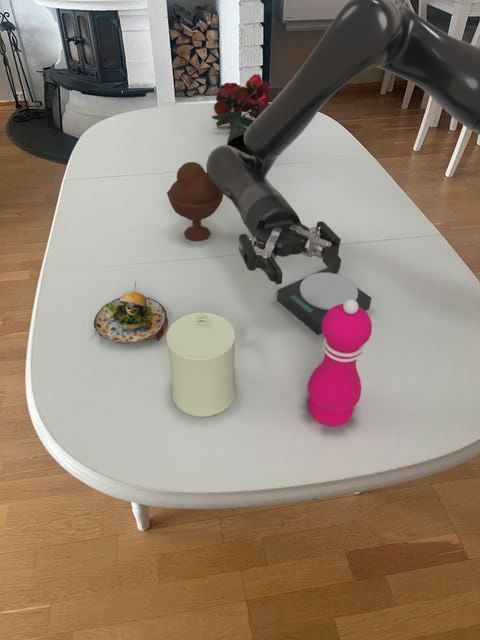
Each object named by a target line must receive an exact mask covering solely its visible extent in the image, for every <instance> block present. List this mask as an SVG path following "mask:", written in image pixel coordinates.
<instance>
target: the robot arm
mask: <svg viewBox="0 0 480 640" xmlns="http://www.w3.org/2000/svg"><path fill="white" fill-rule="evenodd" d="M373 68H378V69H381V70H383V71H385V72H388V73H391V74H393V75H395V76H398V77H400V78H401V79H404V80H406V81H408V82H410V83H412V84H414V85H416V86H417V87H418V88H420V89H421V90H423V91H424V92H425V93H427V94H428V96H430V97H431V98H432V99H433V100H434V101H435V103H437V105H439V106H440V107H441V108H442V109H443V110H444V111H445V112H446V113H447V114H449V116H451V117H452V118H453V119H454V120H455V121H457V122H458V123H460V124H461V125H462V126H463V127H465V128H467V129H468V130H470V131H472V132H474V133H475V134H477V135H479V136H480V47H479V46H476V45H474V44H472V43H468V42H465V41H464V40H461V39H458V38H456V37H453V36H451V35H449V34H448V33H445V32H444V31H443V30H441V29H439V28H438V27H436V26H434V25H433V24H432V23H430V22H429V21H428V20H426V19H424V18H422V17H421V16H420V15H418V14H417V13H416V12H415V11H413V10H412V9H410V8H409V7H407V6H406V5H405V4H403V3H402V2H401V1H399V0H349V1H347V2H346V3H345V4H344V5H342V7H341V8H340V10H339V12H338V13H337V14H336V16H335V17H334V18H333V20H332V21H331V23H330V25H329V26H328V27H327V29H326V31H325V33H323V36H322V37H321V39H320V40H319V42H318V43H317V45H316V46H315V47H314V50H313V51H312V52H311V53H310V55H309V56H308V58H307V59H306V60H305V62H304V63H303V65H302V66H301V67H300V68H299V70H298V71H297V72H296V74H295V75H294V76H293V77H292V79H291V80H290V81H289V82H288V83H287V85H285V87H283V89H282V90H281V91H280V92H279V93H278V94H277V96H275V98H273V100H272V101H271V102H269V103H270V104H269V105H268V106H267V107H266V108H265V110H264V111H263V112H262V113H261V114H260V115H259V116H258V117H257V118H256V119H254V120H253V121H254V122H253V123H252V124H251V125H250V126H249V127H247V128H246V129H247V130H246V132H245V134H244V142H245V145H246V147H247V149H248V150H249V151H250V153H251V154H252V155H253V156H249V155H247V154H245V153H244V152H242V151H240V150H238V149H236V148H234V147H232V146H229V145H227V144H223V145H219V146H217V147H215V148H214V149H213V150H212V151H211V152H210V153H209V155H208V158H207V161H206V172H207V174H208V177H209V179H210V181H211V182H212V183H213V185H214V186H215V187H216V188H217V189H219V190H220V191H221V192H222V193H223V196H225V197H226V198H227V199H229V200H230V201H231V202H232V204H233V206H234V207H235V209H236V210H237V212H238V213H239V215H240V218H241V220H242V223H243V225H244V226H245V227H246V229H247V230H248V232H249V233H250V235H251V237H249V236H248V234H246V233H241V234H239V235H238V252H239V253H240V256H241V258H242V260H243V262H244V264H245V266H246V269H247V270H248V271H251V272H253V271H256V269H260V270H261V271H263V272H264V273H265V276H266V277H267V279H268V280H269V281H270V282H272V283H273V282H274V284H275V285H276V286H277V285H281V284H283V270H282V269H281V267H280V265H279V263H278V262H277V261H276V259H277V257H280V258H284V257H289V256H293V255H294V256H295V255H303V256H306V257H308V258H312V257H316V258H318V259H321V260H322V263H323V264H324V265H325V266H326V268H328V269H329V270H330V271H331V272H332V274H335V273H337V274H338V273H339V271H340V269H341V264H342V258H341V257H340V256H339V254H340V245H341V241H342V240H341V238H340V236H339V235H337V234H336V232H335V231H333V229H331V228H330V226H329V225H328V224H326V222H324V221H321V220H319V221H317V222H316V226H313V227H308V226H306V225H305V224H302V222H301V219H300V217H299V215H298V214H297V212H296V211H295V210H294V208H293V207H292V206H291V205H290V203H289V202H288V201H287V200H286V198H285V197H284V196H283V195H282V193H281V192H280V191H279V190H278V189H276V187H274V186H273V185H272V183H271V182H270V181H269V180H268V178H267V175H268V174H269V172H270V170H271V169H272V167H273V165H274V164H275V162H276V160H277V159H278V157H279V156H281V154H282V153H284V152H285V151H286V150H287V148H289V147H290V146H291V145H292V144H293V143H294V142H295V141H296V140H297V139H298V138H299V137H300V136H301V135H302V134H303V132H304V131H305V130H306V129H307V127H308V126H309V125H310V123H311V122H312V121H313V120H314V118H315V116H316V115H317V114H318V112H319V111H320V110H321V109H322V108H323V106H324V105H325V104H326V103H327V102H328V101H329V100H330V98H332V97H333V96H334V95H335V94H336V93H337V92H338V91H340V89H341V88H343V87H344V86H345V85H347V84H348V83H350V82H351V81H353V79H355V78H356V77H358V76H359V75H360V74H362V73H363V72H365V71H367V70H371V69H373ZM308 242H309V245H308V247H307V244H308ZM255 247H257V248H258V249H259V250H262V253H261V254H257V252H256V250H255ZM318 247H321V249H318Z"/></svg>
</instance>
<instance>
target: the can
mask: <svg viewBox="0 0 480 640" xmlns="http://www.w3.org/2000/svg"><path fill="white" fill-rule="evenodd" d="M166 343H167V349H168V357H169V358H168V359H169V366H170V375H171V383H172V384H171V385H172V390H171V396H172V400H173V402H174V404H175V406H176V407H177V408H178V409H179V410H181V412H184V413H185V414H188V415H189V416H193V417H199V418H200V417H201V418H205V417H212V416H216V415H218V414H220V413H222V412H224V411H225V410H227V408H229V407H230V406H231V404H232V403H233V401H234V400H235V396H236V385H235V351H236V350H235V345H236V330H235V328H234V326H233V325H232V323H231V322H230V321H229V320H228V319H227V318H225V317H224V316H221V315H218V314H215V313H212V312H193V313H189V314H186V315H183V316H180V318H178V319H176V320H175V321H173V322H172V323H171V325H170V326H169V328H168V329H167V332H166Z"/></svg>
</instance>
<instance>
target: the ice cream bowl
mask: <svg viewBox="0 0 480 640" xmlns="http://www.w3.org/2000/svg"><path fill="white" fill-rule="evenodd" d="M166 194H167V198H168V201H169V203H170V205H171V207H172V209H173V211H174V212H175V214H177V215H179V216H180V217H183V218H185V219H187V220H191V221H192V225H191V226H189V227H187V228H186V229H185V230H184V233H183V235H184V238H185V239H186V240H189V241H190V242H202V241H205V240H207V239H209V238H210V236H211V232H210V229H209V228H208V227H206V226H204V225H202V220H204V219H206V218H209V217H211V216H212V215H213V214H215V212H216V211H217V210H218V208H219V207H220V206H221V204H222V202H223V198H224V194H223V193H222V192H221V191H220V190H219V189H217V188H216V187H215V186H214V185H213V183H212V182H211V181H210V179H209V177H208V174H207V171H206V170H205V169H204V168H203V166H202V165H201V164H200V163H198V162H196V161H188V162H185V163H183V164H182V165H181V166H180V167H179V168H178V170H177V172H176V180H175V181H174V183H172V184H171V186H170V188H169V190H168V191H166Z"/></svg>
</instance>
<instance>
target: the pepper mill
mask: <svg viewBox="0 0 480 640" xmlns="http://www.w3.org/2000/svg"><path fill="white" fill-rule="evenodd" d="M372 323H373V322H372V320H371V317H370V316H369V314H368V312H367V310H365V311H364V310H363V309H362V308H360V307H359V306H358V303H357V301H355V300H353V299H349V300H346V301H345V302H344V304H339V305H336V306H334V307H332V308H331V309H330V310H329V311H328V312H327V313H326V315H325V317H324V319H323V322H322V332H323V333H322V335H323V342H322V349H323V352H324V357H323V360H322V362H321V363H319V364H318V366H316V368H315V369H314V370H313V371H312V372H311V375H310V376H309V378H308V379H309V380H308V382H307V394H308V397H309V399H308V405H307V409H308V412H309V414H310V416H311V417H312V419H313V420H315V421H316V422H317V423H319V424H321V425H323V426H327V427H340V426H342V425H343V426H344V425H345V424H346V423H348V422H349V421H350V420H351V418H352V416H353V411H354V409H355V407H356V406H357V405H358V403H359V401H360V399H361V394H362V383H361V378H360V375H359V373H358V372H359V371H358V369H357V360H358V359H359V358H360V357H361V356H362V355H363V350H364V347H365V346H364V345H365V344H366V343H367V342H369V340H370V338H371V336H372V330H373V325H372Z"/></svg>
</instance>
